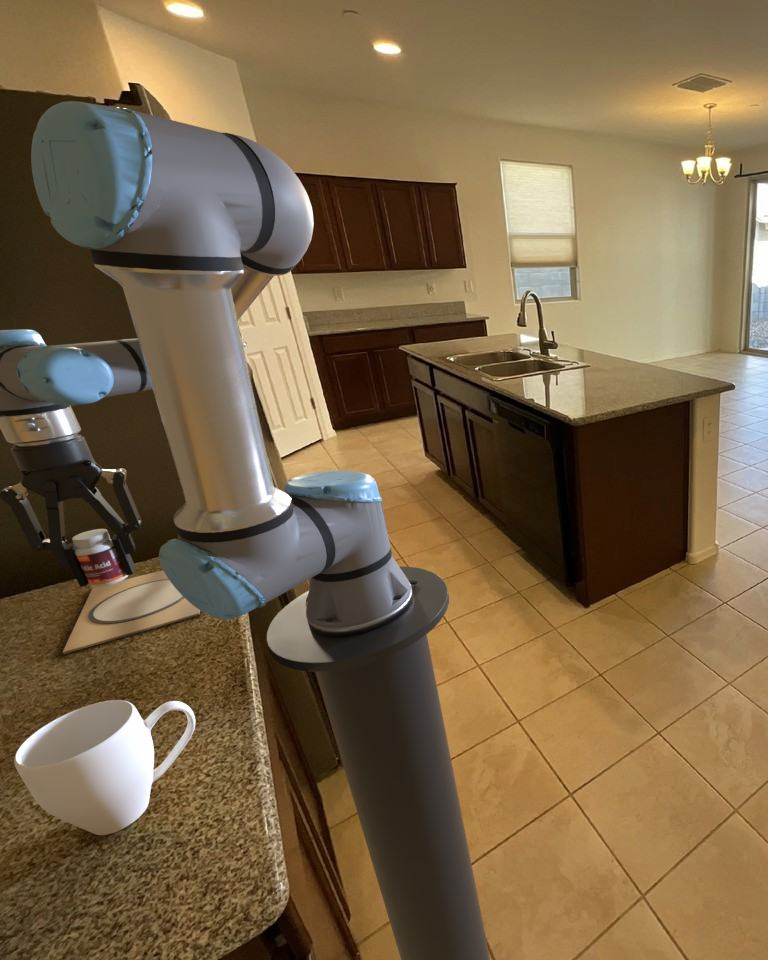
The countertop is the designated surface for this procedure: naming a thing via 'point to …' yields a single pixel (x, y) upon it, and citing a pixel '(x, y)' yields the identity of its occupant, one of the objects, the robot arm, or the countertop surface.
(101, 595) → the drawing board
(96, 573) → the pill bottle
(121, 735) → the mug
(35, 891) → the countertop surface
